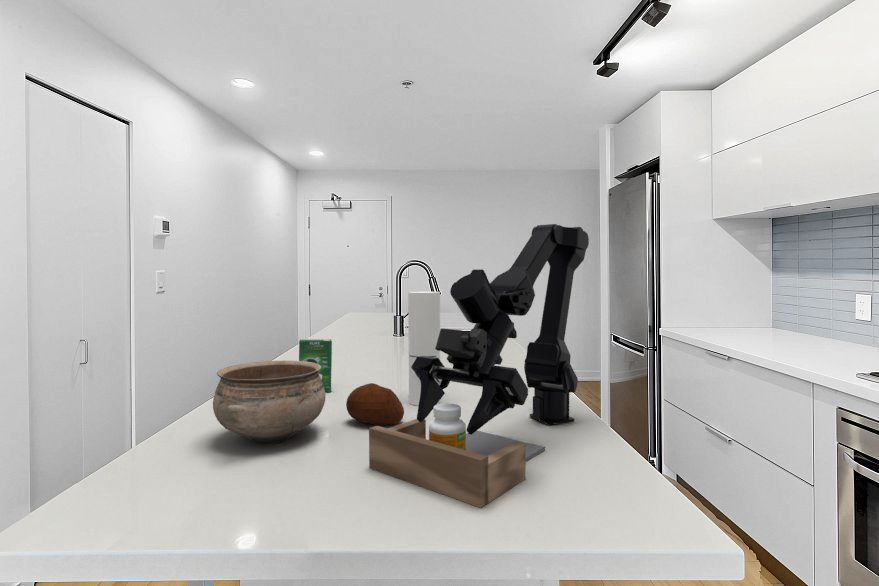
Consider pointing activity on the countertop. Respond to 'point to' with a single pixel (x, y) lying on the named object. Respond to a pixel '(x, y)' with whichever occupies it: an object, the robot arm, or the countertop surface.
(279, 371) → the cooking pot
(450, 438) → the supplement bottle
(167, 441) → the countertop surface
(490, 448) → the mat
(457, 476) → the brown walled open frame
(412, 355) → the cylindrical container
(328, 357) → the coffee box
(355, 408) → the potato
